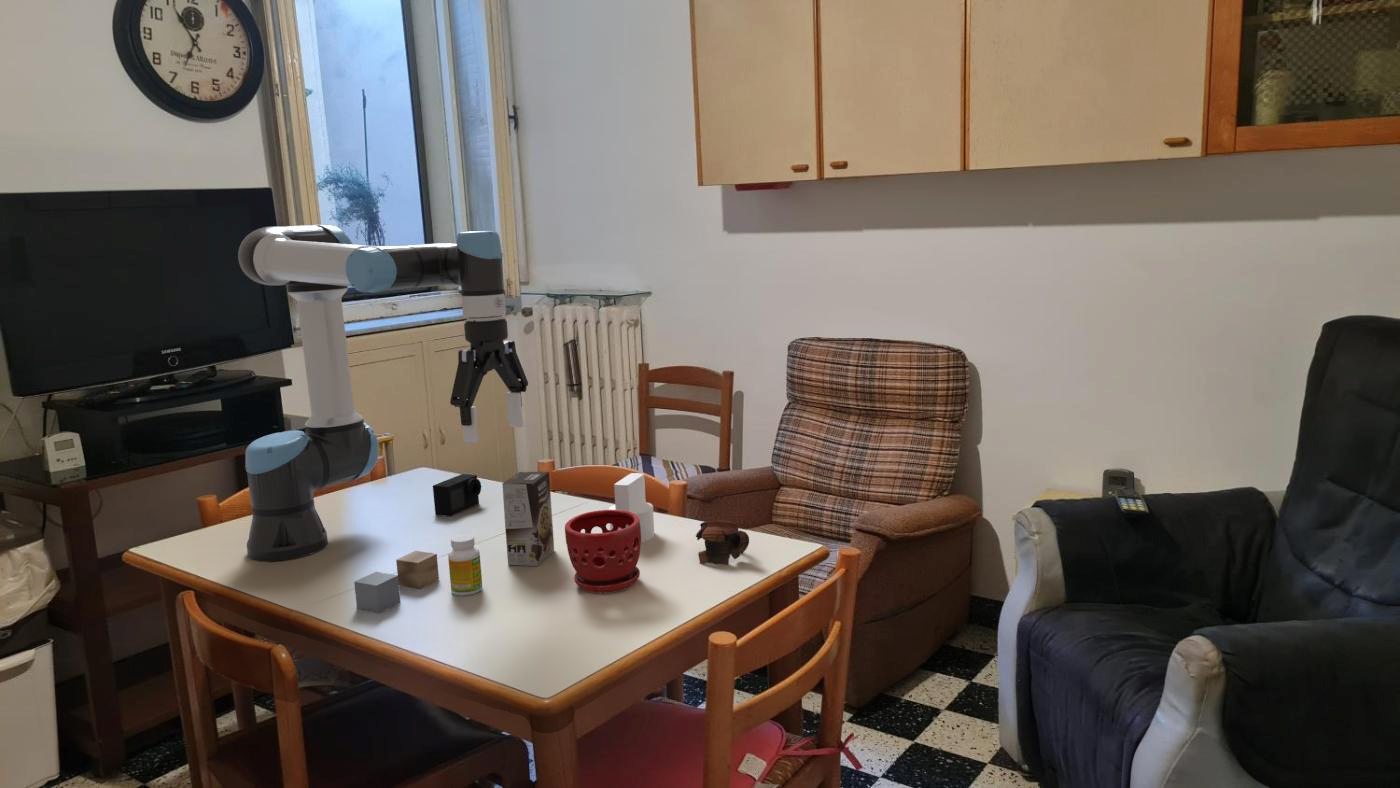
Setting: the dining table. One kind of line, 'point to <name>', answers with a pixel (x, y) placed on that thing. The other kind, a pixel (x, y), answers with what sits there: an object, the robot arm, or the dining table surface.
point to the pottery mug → (721, 541)
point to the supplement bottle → (464, 566)
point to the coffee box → (528, 518)
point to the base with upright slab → (634, 503)
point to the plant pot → (604, 550)
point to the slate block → (377, 592)
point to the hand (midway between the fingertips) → (494, 434)
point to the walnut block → (417, 569)
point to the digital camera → (456, 494)
